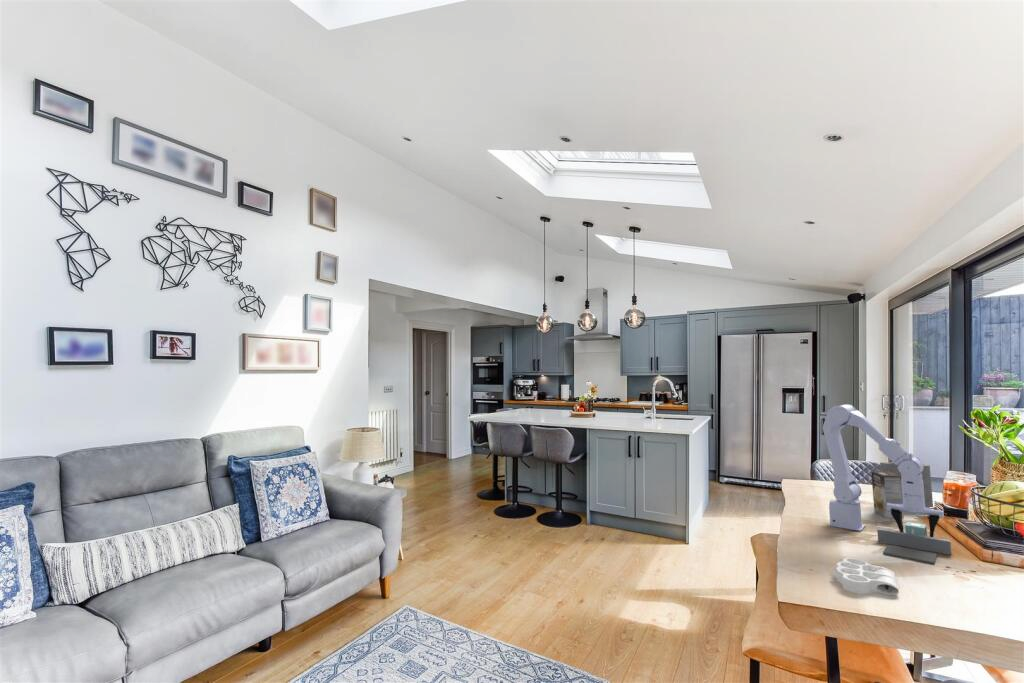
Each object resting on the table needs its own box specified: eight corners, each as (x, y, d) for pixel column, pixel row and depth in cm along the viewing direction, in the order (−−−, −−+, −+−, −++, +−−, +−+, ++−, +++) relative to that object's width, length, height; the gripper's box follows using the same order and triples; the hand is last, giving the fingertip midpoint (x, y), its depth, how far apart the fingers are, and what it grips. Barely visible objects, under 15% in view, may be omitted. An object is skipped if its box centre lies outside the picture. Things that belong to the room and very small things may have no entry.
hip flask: (932, 508, 194) (928, 458, 195) (934, 511, 191) (930, 460, 192) (883, 503, 203) (879, 455, 204) (884, 506, 199) (880, 457, 201)
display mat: (883, 554, 150) (882, 552, 150) (887, 546, 156) (887, 544, 156) (934, 564, 141) (933, 562, 141) (937, 555, 147) (936, 553, 148)
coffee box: (873, 511, 193) (870, 470, 194) (891, 511, 191) (888, 470, 192) (886, 518, 184) (882, 475, 185) (905, 519, 182) (901, 475, 183)
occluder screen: (878, 541, 160) (877, 529, 161) (879, 540, 162) (878, 528, 162) (951, 555, 148) (949, 541, 148) (951, 553, 149) (950, 540, 149)
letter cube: (906, 540, 161) (905, 525, 161) (908, 536, 164) (907, 521, 165) (925, 544, 157) (924, 528, 158) (927, 539, 161) (926, 524, 161)
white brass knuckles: (900, 603, 120) (830, 589, 128) (894, 576, 135) (831, 566, 143) (899, 589, 120) (829, 576, 129) (893, 564, 135) (830, 554, 143)
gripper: (884, 493, 164) (887, 533, 163) (940, 500, 154) (944, 543, 153) (887, 489, 169) (890, 528, 168) (942, 495, 159) (946, 537, 158)
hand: (916, 535), depth 161 cm, fingers open, 7 cm apart
